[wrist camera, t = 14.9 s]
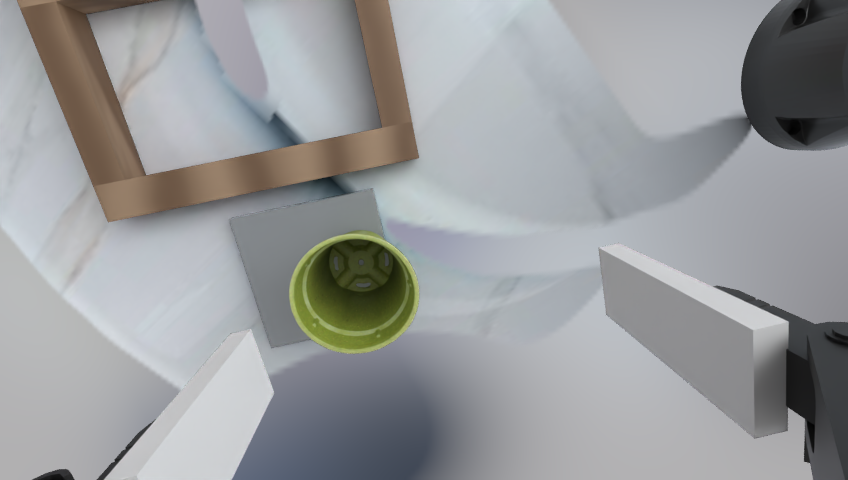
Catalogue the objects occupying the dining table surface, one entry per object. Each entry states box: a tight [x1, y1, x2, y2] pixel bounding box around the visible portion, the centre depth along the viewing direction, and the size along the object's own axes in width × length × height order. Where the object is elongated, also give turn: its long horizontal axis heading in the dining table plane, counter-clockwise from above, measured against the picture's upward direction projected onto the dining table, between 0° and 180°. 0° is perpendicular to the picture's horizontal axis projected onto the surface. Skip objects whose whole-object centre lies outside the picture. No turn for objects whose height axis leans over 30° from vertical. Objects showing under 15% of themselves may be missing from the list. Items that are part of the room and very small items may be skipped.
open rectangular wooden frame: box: [17, 0, 419, 222], centre depth 32 cm, size 26×19×3 cm
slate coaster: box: [229, 188, 389, 348], centre depth 38 cm, size 13×13×1 cm
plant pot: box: [289, 230, 419, 354], centre depth 33 cm, size 9×9×9 cm
